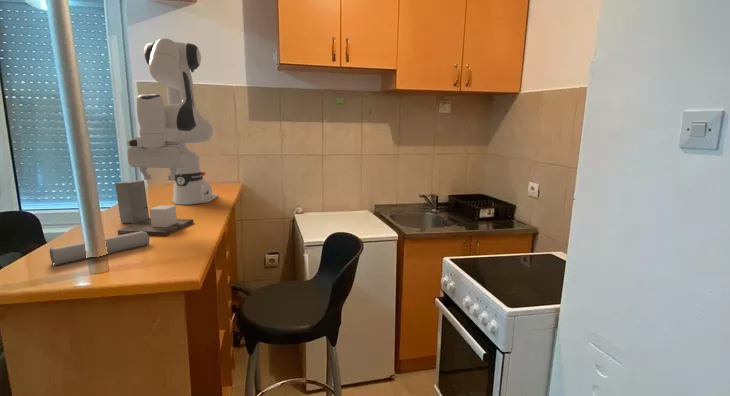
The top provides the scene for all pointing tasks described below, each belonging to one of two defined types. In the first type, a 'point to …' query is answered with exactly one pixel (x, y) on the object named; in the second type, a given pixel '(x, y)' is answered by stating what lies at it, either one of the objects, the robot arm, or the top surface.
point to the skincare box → (132, 201)
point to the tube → (112, 244)
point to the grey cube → (163, 216)
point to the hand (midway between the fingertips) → (159, 179)
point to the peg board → (155, 231)
